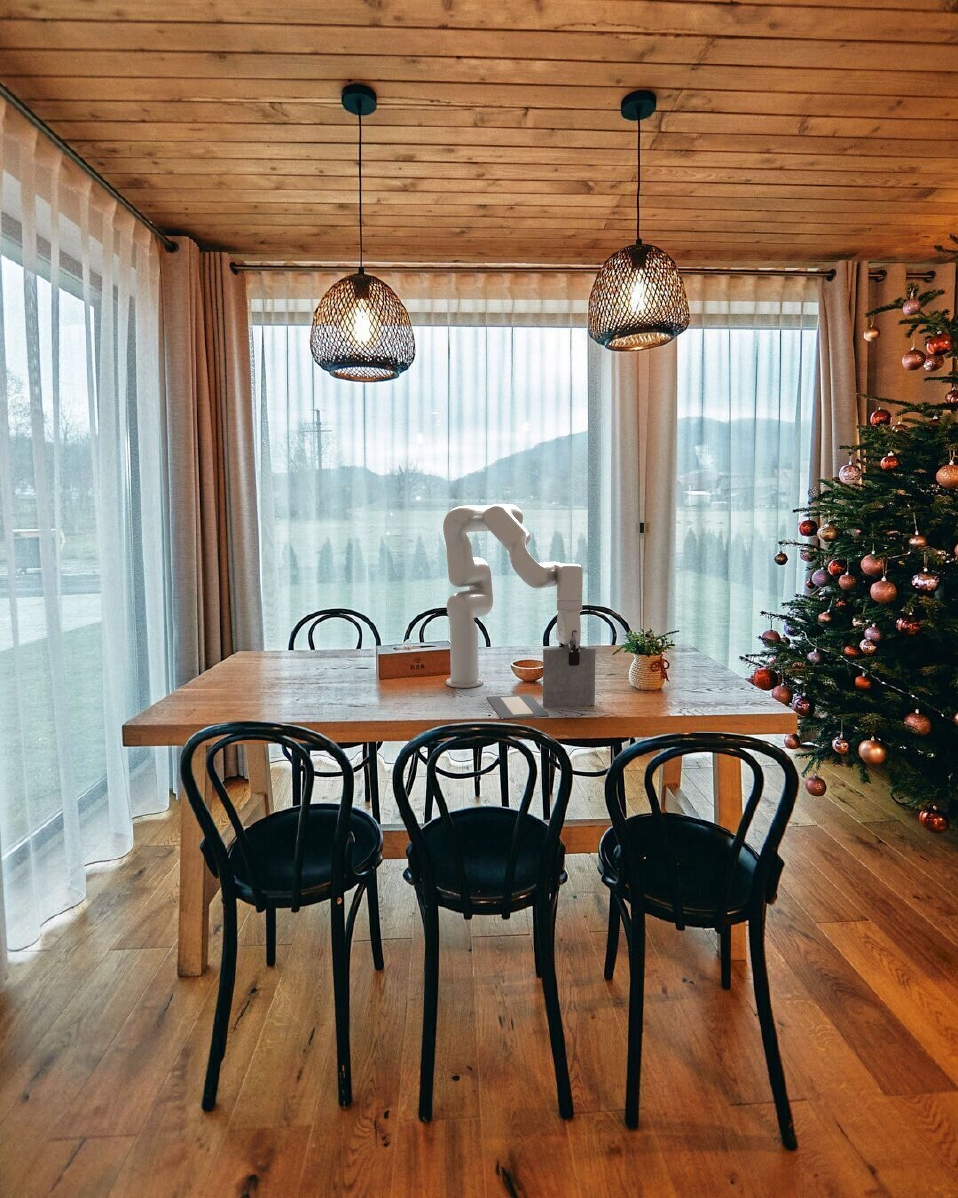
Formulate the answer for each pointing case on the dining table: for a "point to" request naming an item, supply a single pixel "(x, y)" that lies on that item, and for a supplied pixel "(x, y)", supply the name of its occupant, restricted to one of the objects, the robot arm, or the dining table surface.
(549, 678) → the hip flask
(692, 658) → the dining table surface
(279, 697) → the dining table surface
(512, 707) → the mat
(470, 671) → the robot arm
